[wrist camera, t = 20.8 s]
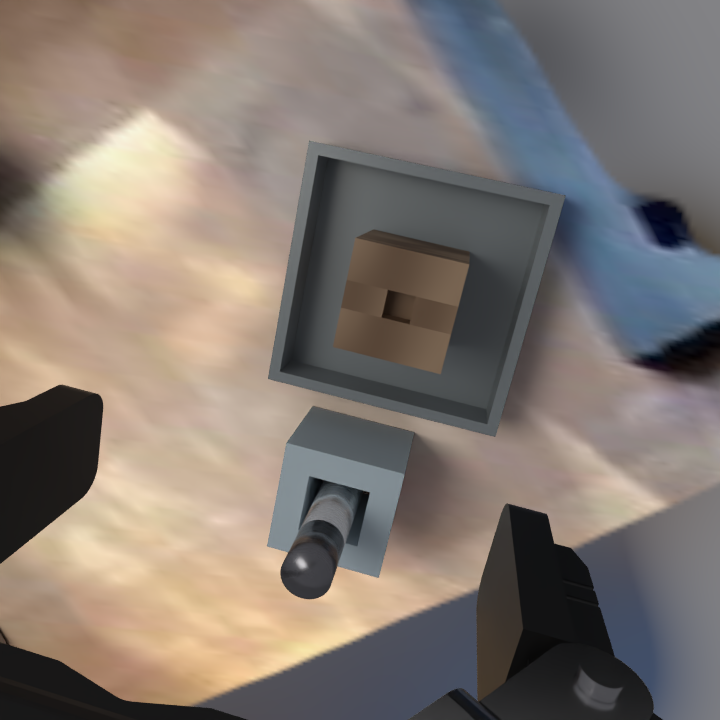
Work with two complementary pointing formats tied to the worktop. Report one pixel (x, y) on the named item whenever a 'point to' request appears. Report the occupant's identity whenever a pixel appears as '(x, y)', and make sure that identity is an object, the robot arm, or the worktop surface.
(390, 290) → the walnut block
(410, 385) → the tray
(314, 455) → the grey socket cube
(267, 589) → the worktop surface
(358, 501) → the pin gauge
